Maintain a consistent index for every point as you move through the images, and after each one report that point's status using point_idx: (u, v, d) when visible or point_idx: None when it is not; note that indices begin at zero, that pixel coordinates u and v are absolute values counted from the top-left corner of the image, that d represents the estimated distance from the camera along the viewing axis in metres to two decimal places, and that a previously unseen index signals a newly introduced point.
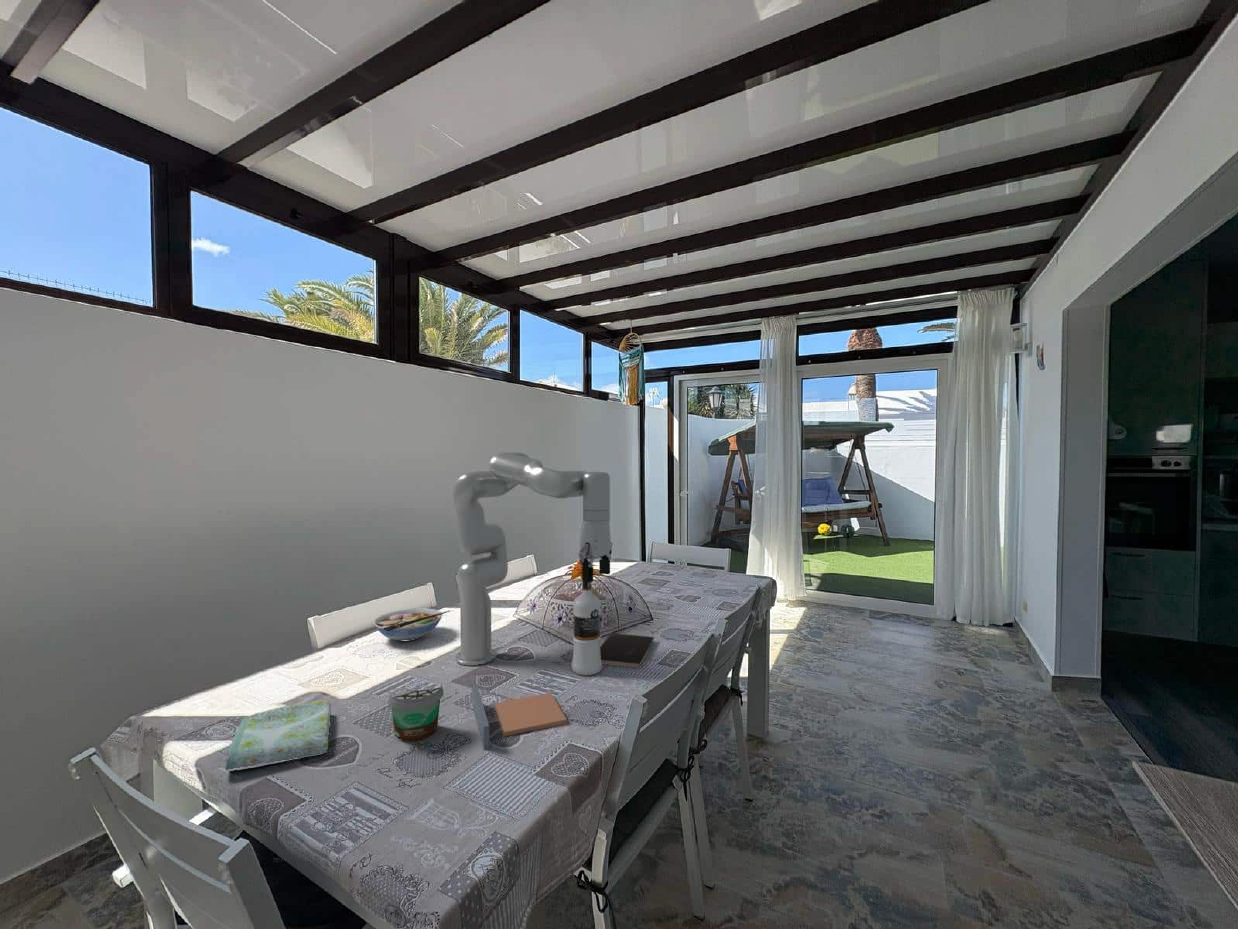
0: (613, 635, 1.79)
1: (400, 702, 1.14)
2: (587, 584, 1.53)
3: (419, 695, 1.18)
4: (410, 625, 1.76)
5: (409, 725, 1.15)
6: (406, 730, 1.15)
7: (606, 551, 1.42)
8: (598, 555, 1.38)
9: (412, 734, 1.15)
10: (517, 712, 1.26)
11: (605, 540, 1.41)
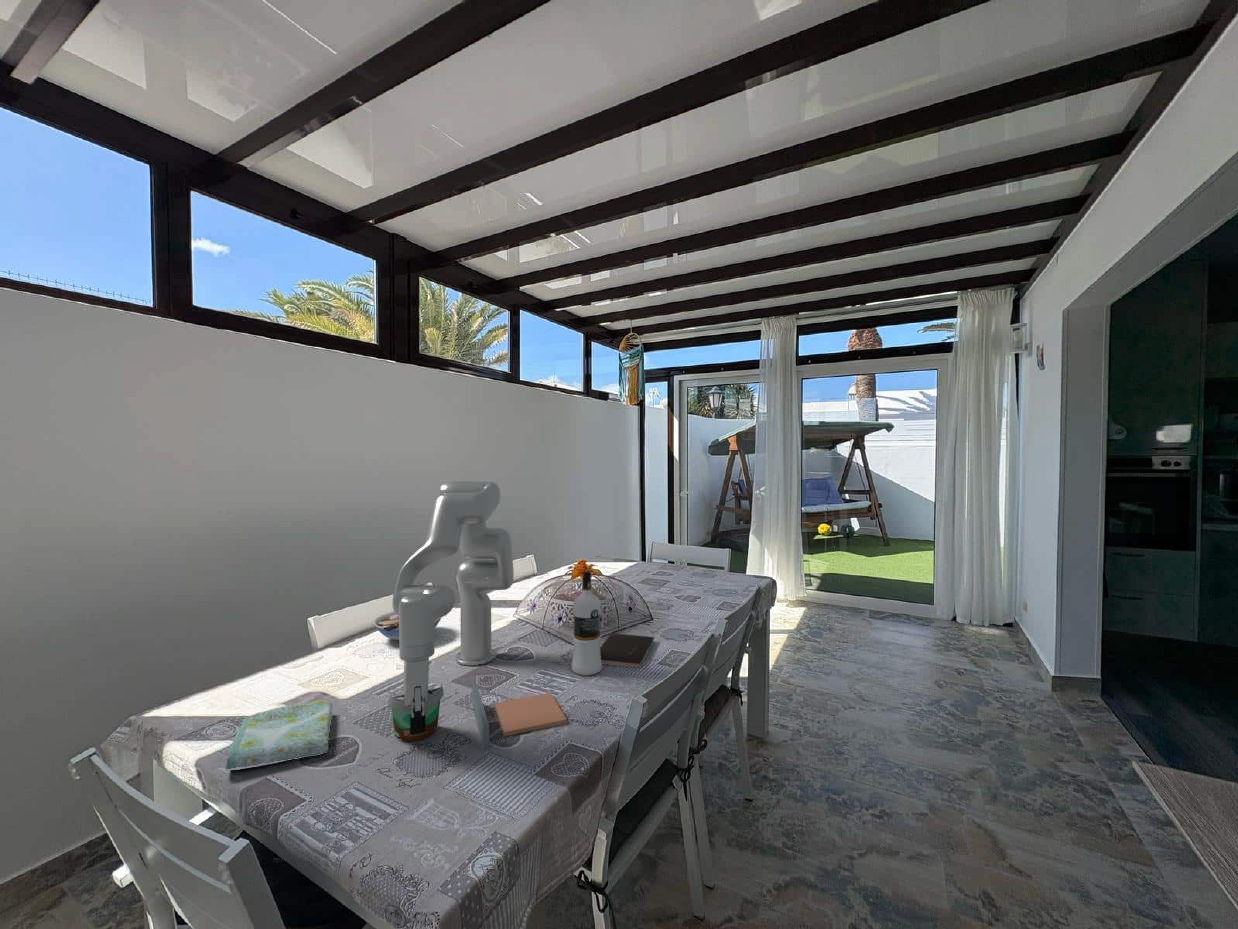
0: (614, 635, 1.79)
1: (400, 702, 1.14)
2: (587, 584, 1.53)
3: None
4: None
5: (409, 725, 1.15)
6: (406, 730, 1.15)
7: None
8: None
9: (412, 734, 1.15)
10: (517, 712, 1.26)
11: None
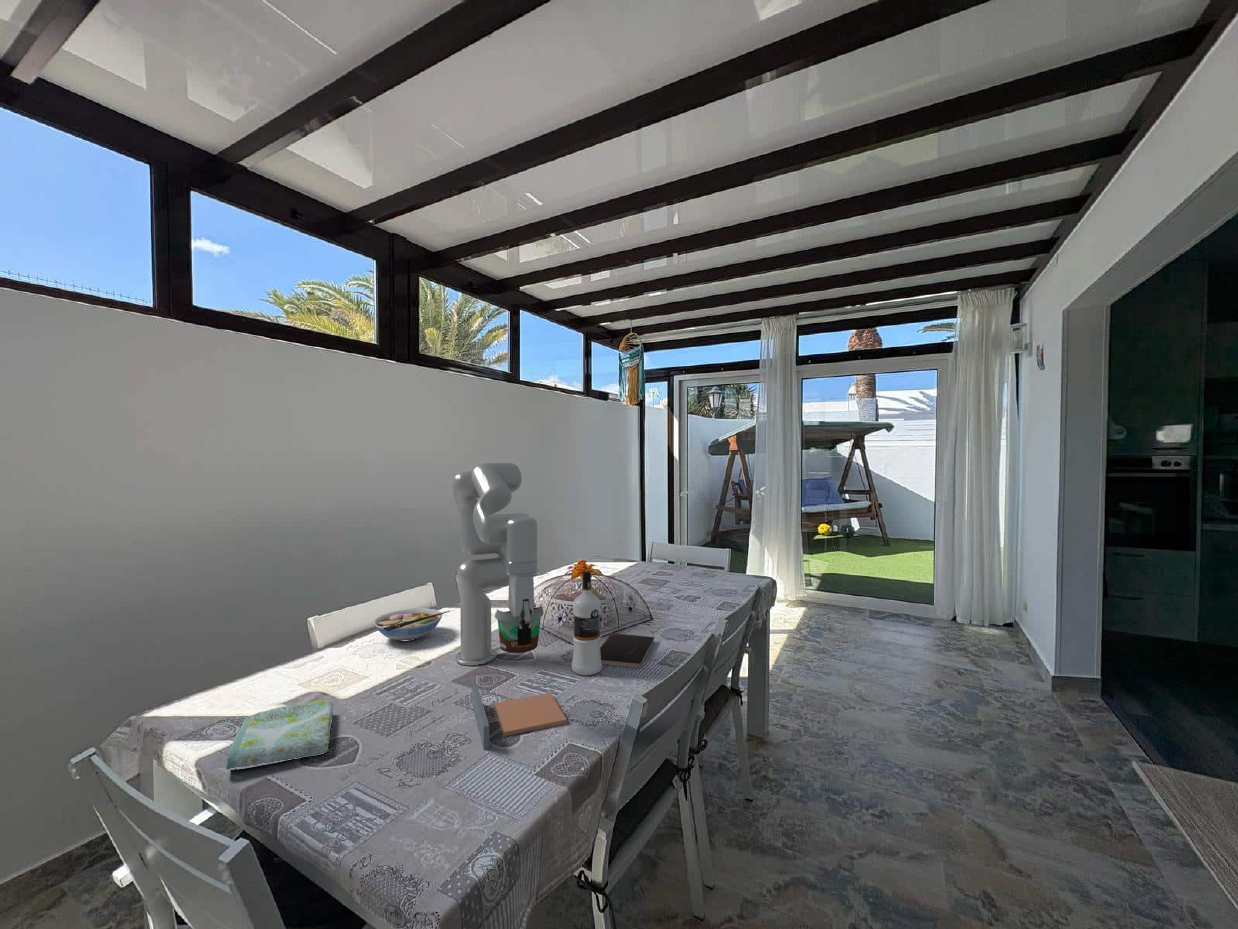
0: (614, 635, 1.79)
1: (508, 615, 1.23)
2: (587, 584, 1.53)
3: None
4: (410, 625, 1.76)
5: (516, 637, 1.23)
6: (513, 641, 1.23)
7: None
8: None
9: (518, 645, 1.24)
10: (517, 712, 1.26)
11: None
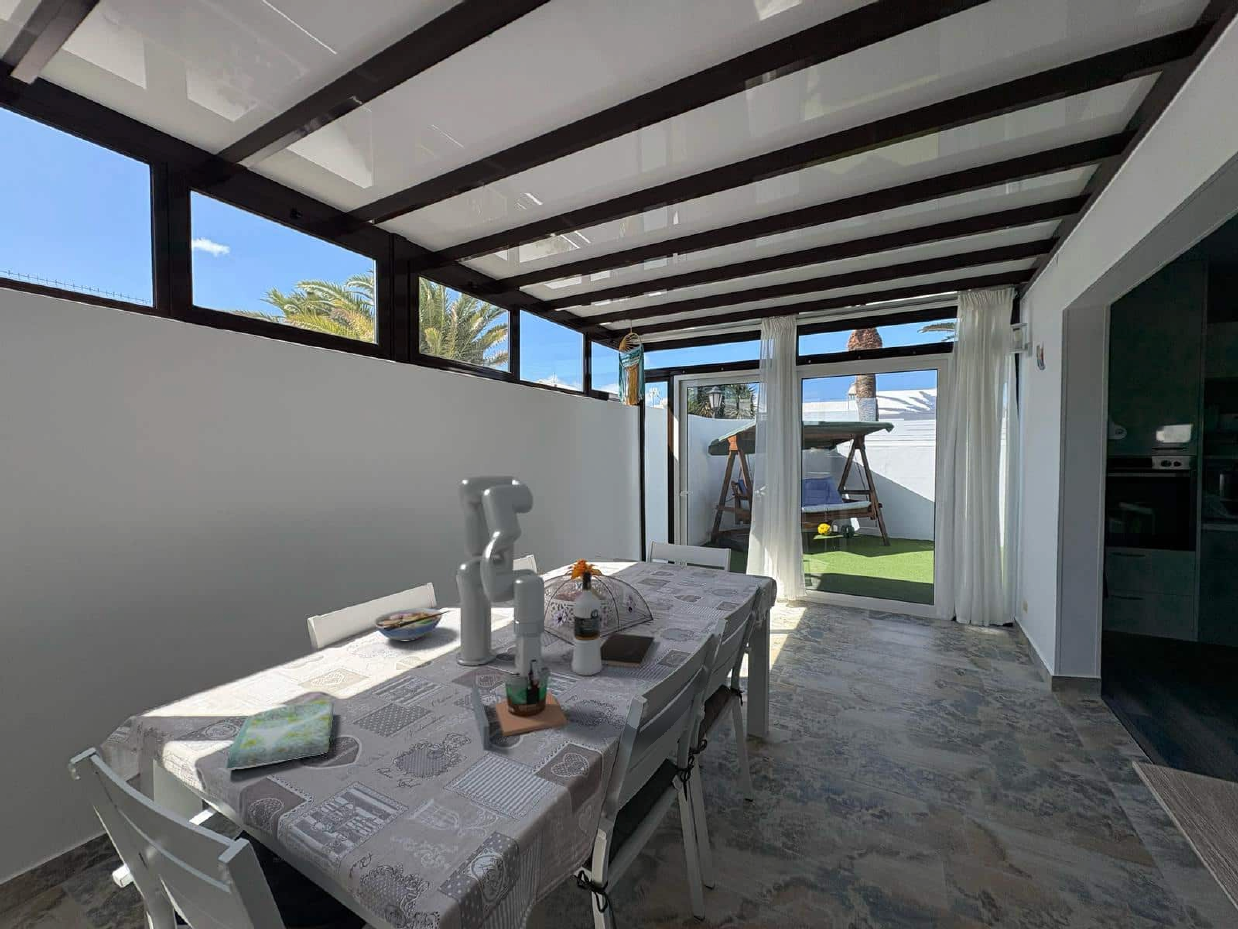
0: (614, 635, 1.79)
1: (516, 679, 1.24)
2: (587, 584, 1.53)
3: (530, 673, 1.27)
4: (410, 625, 1.76)
5: (524, 700, 1.24)
6: (521, 705, 1.24)
7: None
8: None
9: (526, 709, 1.24)
10: None
11: None
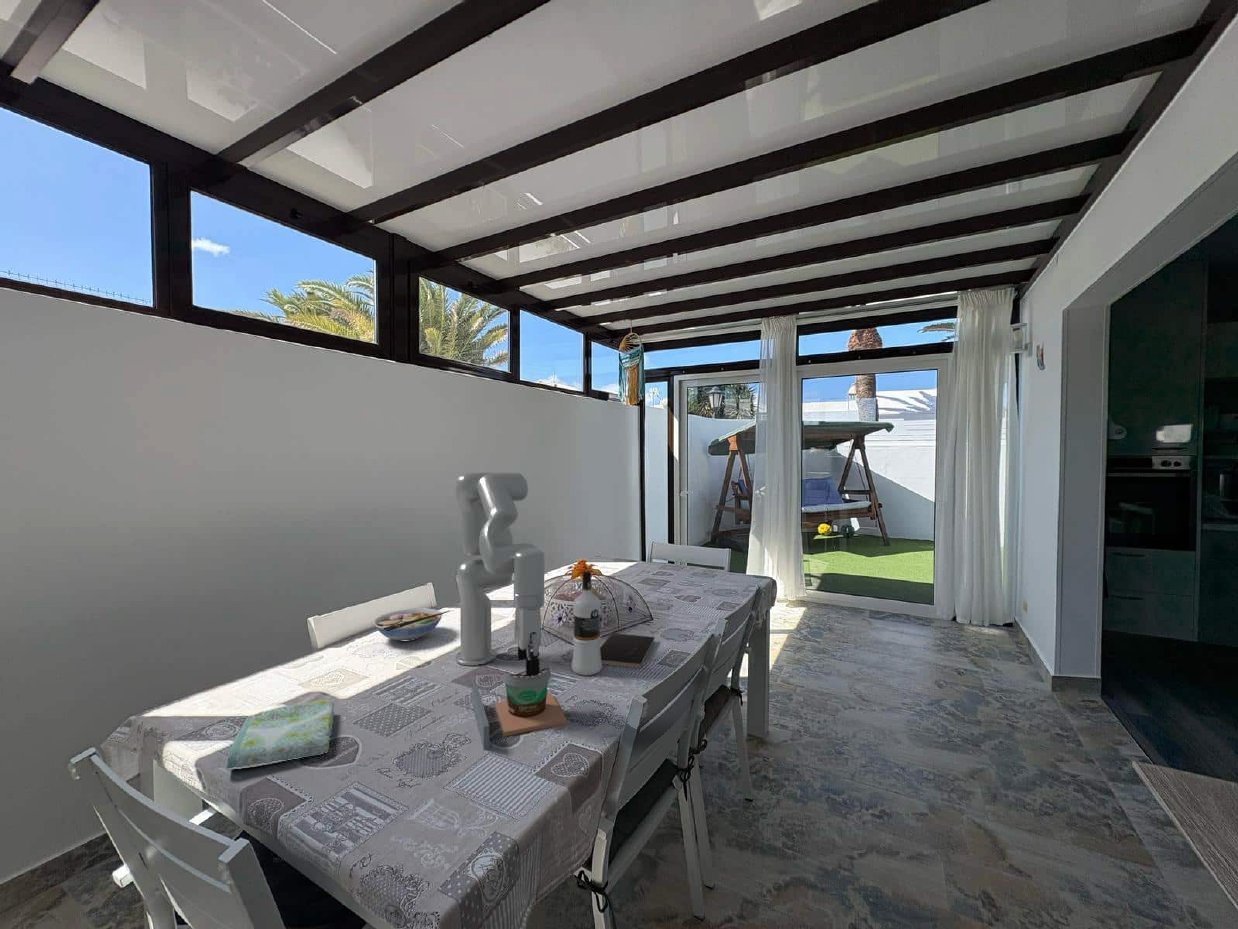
0: (614, 635, 1.79)
1: (516, 680, 1.23)
2: (588, 584, 1.53)
3: None
4: (410, 625, 1.76)
5: (524, 702, 1.24)
6: (521, 706, 1.24)
7: None
8: None
9: (527, 710, 1.24)
10: None
11: None
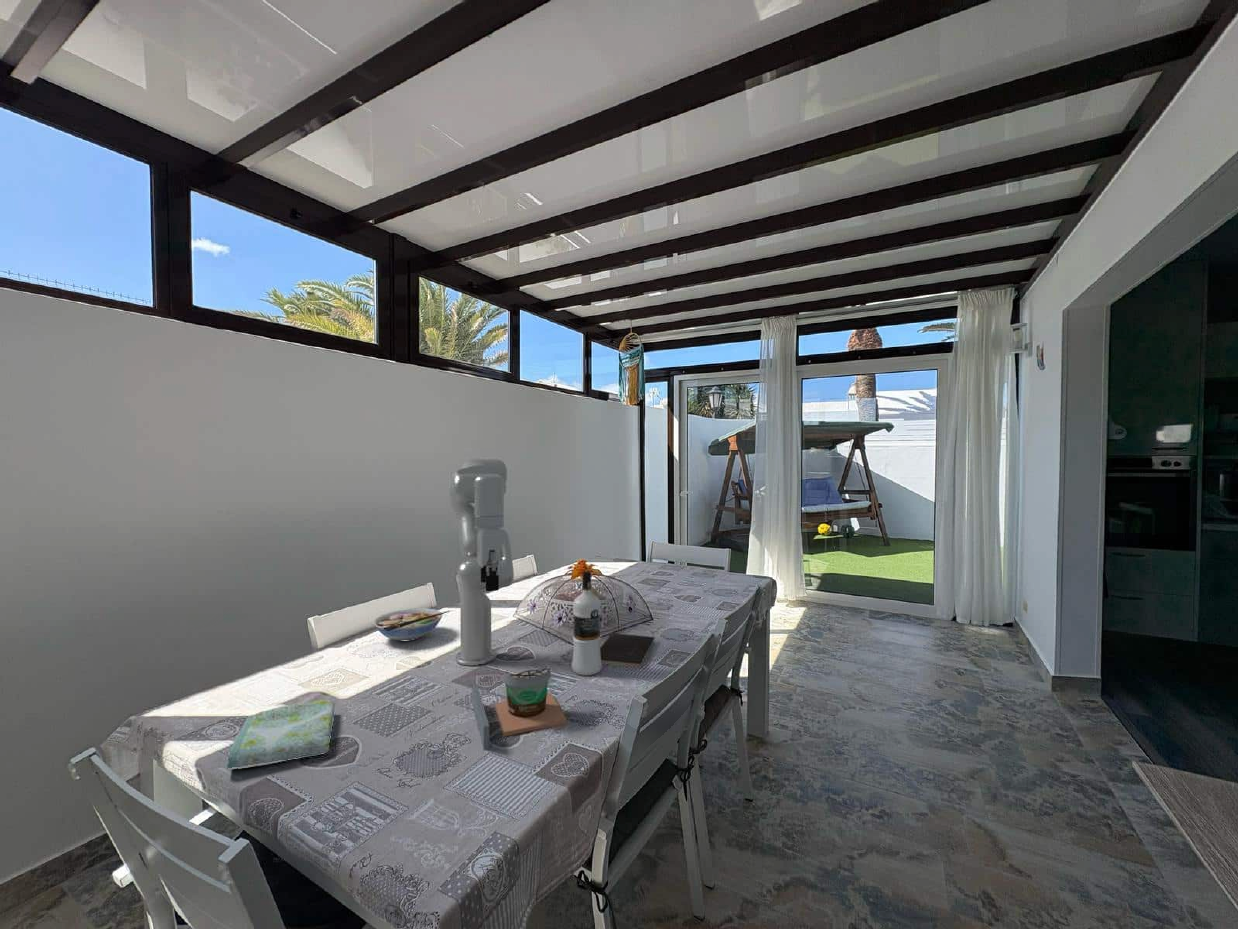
0: (614, 635, 1.79)
1: (516, 680, 1.23)
2: (587, 584, 1.53)
3: (531, 675, 1.27)
4: (410, 625, 1.76)
5: (524, 702, 1.24)
6: (521, 706, 1.24)
7: None
8: None
9: (527, 710, 1.24)
10: None
11: None
